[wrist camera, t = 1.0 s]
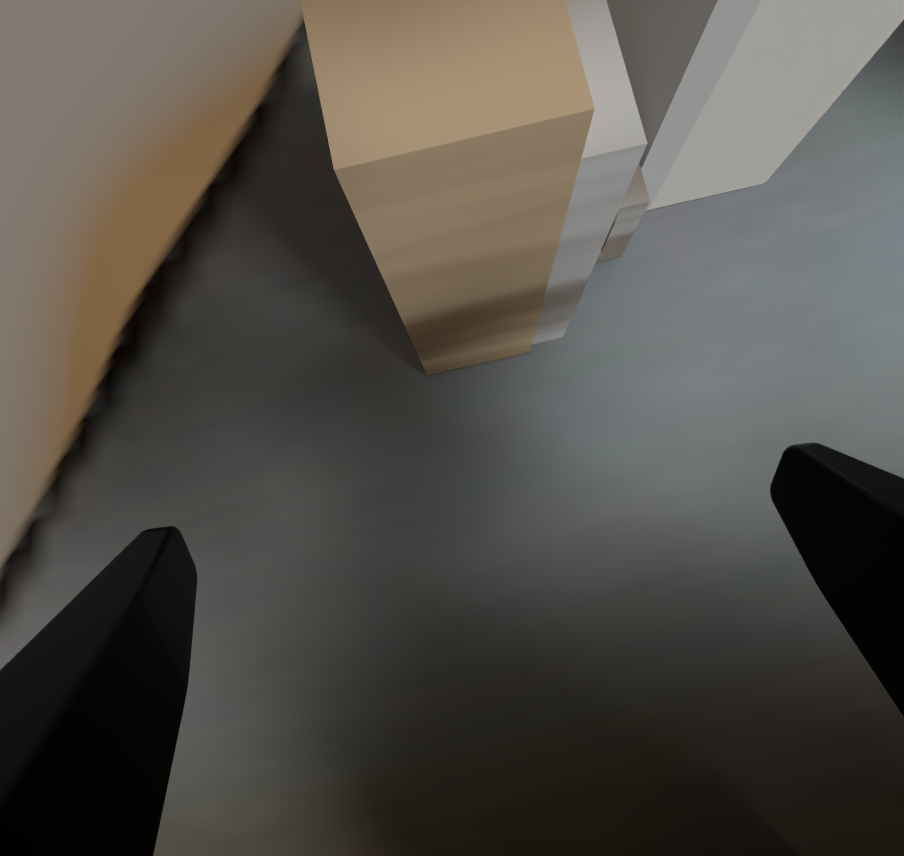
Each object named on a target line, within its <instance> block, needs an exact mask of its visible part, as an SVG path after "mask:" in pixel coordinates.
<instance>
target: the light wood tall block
mask: <svg viewBox="0 0 904 856" xmlns="http://www.w3.org/2000/svg"><path fill="white" fill-rule="evenodd" d="M300 1H301V6H302V12H303V17H304V22H305V27H306V32H307V37H308V42H309V47H310V52H311V57H312V62H313V67H314V72H315V77H316V82H317V87H318V92H319V97H320V102H321V107H322V112H323V117H324V122H325V127H326V132H327V137H328V143H329V148H330V153H331V158H332V163H333V168H334V171H335V173H336V176H337V178H338V180H339V182H340V184H341V187H342V189H343V191H344V193H345V195H346V198H347V200H348V202H349V204H350V207H351V209H352V211H353V213H354V215H355V218H356V220H357V222H358V224H359V226H360V229H361V231H362V233H363V235H364V237H365V240H366V242H367V244H368V246H369V248H370V251H371V253H372V255H373V257H374V259H375V262H376V264H377V266H378V268H379V271H380V273H381V275H382V277H383V279H384V282H385V284H386V286H387V288H388V290H389V293H390V295H391V297H392V299H393V301H394V304H395V306H396V308H397V310H398V312H399V315H400V317H401V319H402V321H403V323H404V326H405V328H406V330H407V332H408V334H409V337H410V339H411V341H412V343H413V346H414V348H415V350H416V352H417V354H418V357H419V359H420V361H421V363H422V365H423V368H424V370H425V372H426V374H427V375H431V374H436V373H440V372H445V371H449V370H454V369H458V368H463V367H467V366H471V365H476V364H480V363H485V362H489V361H494V360H498V359H503V358H507V357H512V356H516V355H521V354H525V353H530V349H531V345H534V344H538V343H543V342H547V341H552V340H556V339H561V338H563V336H564V333H565V331H566V329H567V326H568V324H569V322H570V320H571V317H572V315H573V313H574V310H575V308H576V306H577V304H578V301H579V299H580V297H581V294H582V292H583V290H584V288H585V285H586V283H587V281H588V278H589V276H590V274H591V272H592V269H593V267H594V265H595V263H597V262H601V261H605V260H610V259H614V258H619V257H621V256H622V254H623V252H624V250H625V248H626V246H627V244H628V242H629V240H630V239H631V237H632V235H633V233H634V231H635V229H636V227H637V225H638V223H639V221H640V220H641V218H642V216H643V214H644V212H645V210H646V208H647V206H648V204H649V203H650V199H649V195H648V192H647V188H646V185H645V181H644V178H643V174H642V171H641V167H640V164H639V162H640V159H641V157H642V155H643V153H644V150H645V148H646V146H647V140H646V136H645V133H644V129H643V126H642V122H641V119H640V115H639V112H638V108H637V105H636V101H635V98H634V94H633V91H632V87H631V84H630V80H629V77H628V74H627V70H626V67H625V63H624V60H623V56H622V53H621V49H620V46H619V42H618V39H617V35H616V32H615V28H614V25H613V21H612V18H611V14H610V11H609V8H608V4H607V1H606V0H300Z"/></svg>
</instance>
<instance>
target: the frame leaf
mask: <svg viewBox="0 0 904 856" xmlns="http://www.w3.org/2000/svg"><path fill="white" fill-rule="evenodd" d="M606 1H607V4H608V8H609V11H610V14H611V18H612V21H613V25H614V28H615V32H616V35H617V39H618V42H619V46H620V49H621V53H622V56H623V60H624V63H625V67H626V70H627V74H628V77H629V80H630V84H631V87H632V91H633V94H634V98H635V101H636V105H637V108H638V112H639V115H640V119H641V122H642V126H643V129H644V133H645V136H646V140H647V146H646V148H645V150H644V153H643V155H642V157H641V159H640V162H639V164H640V167H641V171H642V174H643V178H644V181H645V185H646V188H647V192H648V195H649V199H650V203H649V204H648V206H647V208H646V210H650V209H654V208H659V207H663V206H668V205H672V204H676V203H681V202H685V201H689V200H694V199H698V198H702V197H707V196H711V195H716V194H720V193H724V192H729V191H733V190H737V189H742V188H746V187H750V186H755V185H759V184H763V183H765V182H766V181H767V180H768V179H769V178H770V176H771V175H772V174H773V173H774V172H775V170H776V169H777V168H778V167H779V166H780V165H781V163H782V162H783V161H784V160H785V159H786V158H787V156H788V155H789V154H790V153H791V152H792V150H793V149H794V148H795V147H796V146H797V145H798V143H799V142H800V141H801V140H802V139H803V138H804V136H805V135H806V134H807V133H808V132H809V130H810V129H811V128H812V127H813V126H814V125H815V123H816V122H817V121H818V120H819V119H820V118H821V116H822V115H823V114H824V113H825V112H826V110H827V109H828V108H829V107H830V106H831V105H832V103H833V102H834V101H835V100H836V99H837V98H838V96H839V95H840V94H841V93H842V92H843V90H844V89H845V88H846V87H847V86H848V85H849V83H850V82H851V81H852V80H853V79H854V78H855V76H856V75H857V74H858V73H859V72H860V70H861V69H862V68H863V67H864V66H865V65H866V63H867V62H868V61H869V60H870V59H871V58H872V56H873V55H874V54H875V53H876V52H877V50H878V49H879V48H880V47H881V46H882V45H883V43H884V42H885V41H886V40H887V39H888V38H889V36H890V35H891V34H892V33H893V32H894V30H895V29H896V28H897V27H898V26H899V25H900V23H901V22H902V21H903V20H904V0H606ZM646 210H645V211H646Z"/></svg>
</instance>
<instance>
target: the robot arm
mask: <svg viewBox="0 0 904 856" xmlns="http://www.w3.org/2000/svg"><path fill="white" fill-rule="evenodd" d="M770 493H771V498H772V501H773V503H774V505H775V507H776V509H777V511H778V513H779V515H780V516H781V518H782V520H783V522H784V524H785V526H786V528H787V530H788V532H789V534H790V535H791V537H792V539H793V541H794V543H795V545H796V547H797V549H798V551H799V553H800V554H801V556H802V558H803V560H804V562H805V564H806V566H807V568H808V570H809V572H810V573H811V575H812V577H813V579H814V580H815V582H816V584H817V586H818V587H819V589H820V591H821V592H822V594H823V595H824V597H825V599H826V600H827V602H828V603H829V605H830V606H831V608H832V609H833V611H834V612H835V614H836V615H837V617H838V618H839V620H840V621H841V623H842V624H843V626H844V627H845V629H846V630H847V632H848V633H849V635H850V636H851V638H852V639H853V641H854V642H855V644H856V645H857V647H858V648H859V650H860V652H861V653H862V655H863V656H864V658H865V659H866V661H867V662H868V664H869V665H870V667H871V668H872V670H873V671H874V673H875V674H876V676H877V677H878V679H879V680H880V682H881V683H882V685H883V686H884V688H885V689H886V691H887V692H888V694H889V695H890V697H891V698H892V700H893V701H894V703H895V704H896V706H897V707H898V709H899V711H900V712H901V714H902V715H903V717H904V478H901V477H899V476H896V475H894V474H892V473H889V472H887V471H884V470H882V469H879V468H877V467H875V466H872V465H870V464H867V463H865V462H862V461H860V460H858V459H855V458H853V457H850V456H848V455H845V454H843V453H841V452H838V451H836V450H833V449H831V448H828V447H826V446H824V445H821V444H818V443H805V444H797V445H791V446H789V447H788V448H787V449H786V450H785V451H784V452H783V454H782V457H781V459H780V462H779V465H778V467H777V470H776V472H775V475H774V478H773V480H772V483H771V487H770ZM196 589H197V572H196V567H195V564H194V562H193V560H192V557H191V555H190V553H189V550H188V548H187V545H186V543H185V541H184V538H183V536H182V534H181V532H180V530H179V529H178V528H176V527H173V526H169V527H161V528H153V529H148V530H145V531H143V532H142V533H140V534H139V535H138V536H137V537H136V538H135V539H134V540H133V541H132V542H131V543H130V544H129V545H128V546H127V547H126V548H125V549H124V550H123V551H122V552H121V553H120V554H119V555H118V556H117V557H116V558H115V559H114V560H113V561H112V562H110V563H109V564H108V565H107V566H106V567H105V568H104V569H103V570H102V571H101V572H100V573H99V574H98V575H97V576H96V577H95V578H94V579H93V580H92V581H91V582H90V583H89V584H88V585H87V586H86V587H85V588H84V589H83V590H82V591H81V592H80V593H79V594H78V595H77V596H76V597H75V598H74V599H73V600H72V601H71V602H70V603H69V604H68V605H67V606H66V607H64V608H63V609H62V610H61V611H60V612H59V613H58V614H57V615H56V616H55V617H54V618H53V619H52V620H51V621H50V622H49V623H48V624H47V625H46V626H45V627H44V628H43V629H42V630H41V631H40V632H39V633H38V634H37V635H36V636H35V637H34V638H33V639H32V640H31V641H30V642H29V643H28V644H27V645H26V646H25V647H24V648H23V649H22V650H21V651H20V652H18V653H17V654H16V655H15V656H14V657H13V658H12V659H11V660H10V661H9V662H8V663H7V664H6V665H5V666H4V667H3V668H2V669H1V670H0V856H153V854H154V849H155V844H156V839H157V834H158V830H159V825H160V820H161V815H162V810H163V805H164V801H165V796H166V791H167V786H168V781H169V776H170V772H171V767H172V762H173V757H174V752H175V747H176V743H177V738H178V733H179V728H180V723H181V718H182V714H183V709H184V704H185V698H186V693H187V687H188V679H189V670H190V658H191V647H192V635H193V624H194V612H195V600H196Z"/></svg>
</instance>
